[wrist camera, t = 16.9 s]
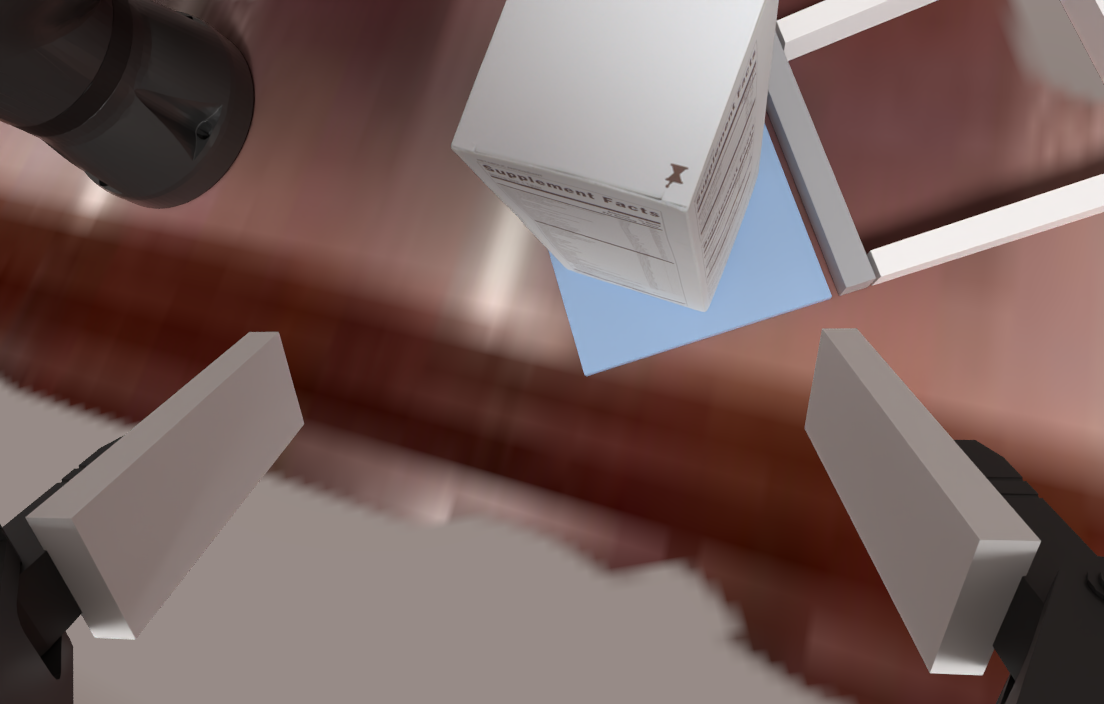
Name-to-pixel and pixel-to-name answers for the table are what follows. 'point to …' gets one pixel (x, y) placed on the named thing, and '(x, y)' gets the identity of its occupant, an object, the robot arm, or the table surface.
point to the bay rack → (809, 216)
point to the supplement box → (626, 133)
